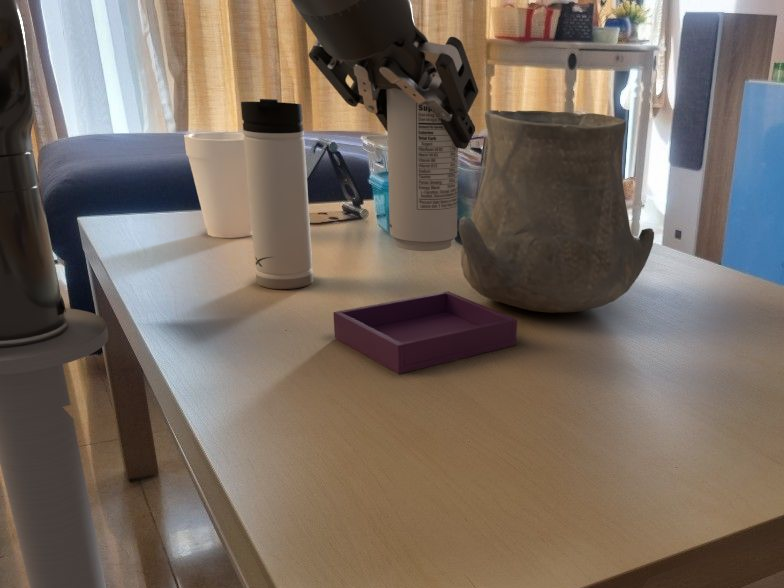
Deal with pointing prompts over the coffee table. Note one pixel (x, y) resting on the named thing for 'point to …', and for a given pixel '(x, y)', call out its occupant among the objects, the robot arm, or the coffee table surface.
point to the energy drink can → (420, 174)
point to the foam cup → (221, 181)
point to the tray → (424, 330)
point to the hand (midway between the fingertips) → (434, 136)
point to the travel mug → (278, 193)
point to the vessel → (552, 214)
